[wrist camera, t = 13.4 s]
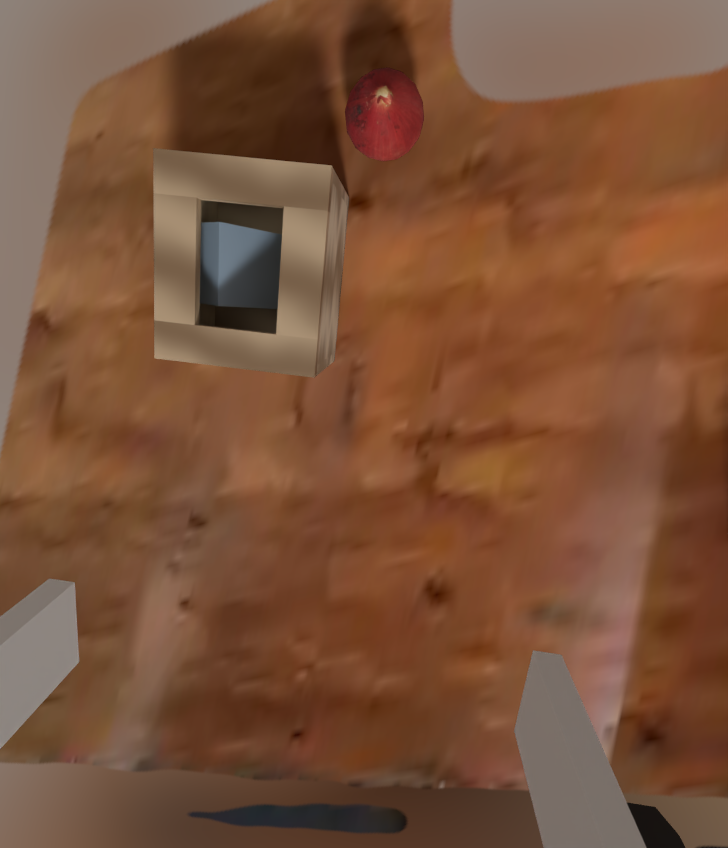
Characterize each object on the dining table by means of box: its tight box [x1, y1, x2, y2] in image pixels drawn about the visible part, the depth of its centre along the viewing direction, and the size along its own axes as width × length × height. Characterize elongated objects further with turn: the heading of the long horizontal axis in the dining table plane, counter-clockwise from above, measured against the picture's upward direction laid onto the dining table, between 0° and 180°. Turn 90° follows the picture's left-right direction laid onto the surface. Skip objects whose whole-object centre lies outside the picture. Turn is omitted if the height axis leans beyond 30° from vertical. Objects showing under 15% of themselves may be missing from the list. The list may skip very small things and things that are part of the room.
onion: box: [345, 68, 424, 161], centre depth 35 cm, size 6×6×8 cm
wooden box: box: [153, 148, 349, 377], centre depth 38 cm, size 14×12×10 cm
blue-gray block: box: [200, 222, 282, 309], centre depth 39 cm, size 6×4×6 cm
